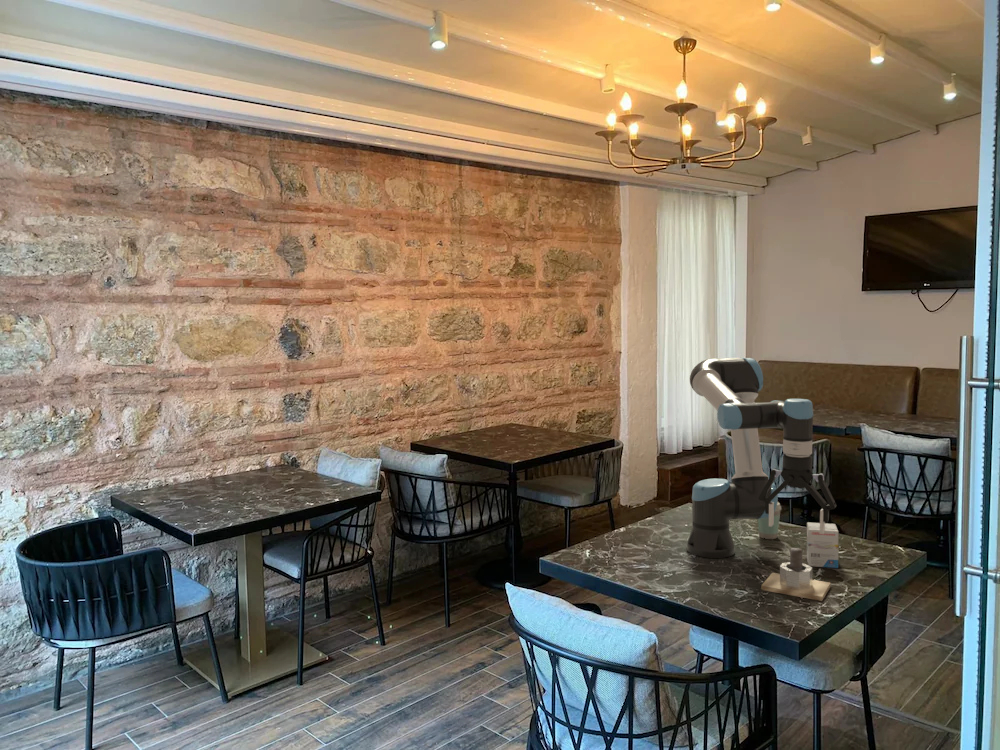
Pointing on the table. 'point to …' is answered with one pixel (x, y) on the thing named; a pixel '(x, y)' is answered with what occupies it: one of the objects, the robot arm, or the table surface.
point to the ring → (796, 577)
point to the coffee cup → (765, 529)
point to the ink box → (822, 545)
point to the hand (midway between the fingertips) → (796, 529)
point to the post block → (815, 592)
